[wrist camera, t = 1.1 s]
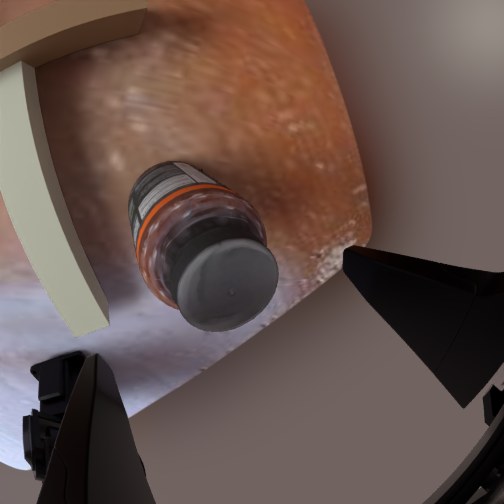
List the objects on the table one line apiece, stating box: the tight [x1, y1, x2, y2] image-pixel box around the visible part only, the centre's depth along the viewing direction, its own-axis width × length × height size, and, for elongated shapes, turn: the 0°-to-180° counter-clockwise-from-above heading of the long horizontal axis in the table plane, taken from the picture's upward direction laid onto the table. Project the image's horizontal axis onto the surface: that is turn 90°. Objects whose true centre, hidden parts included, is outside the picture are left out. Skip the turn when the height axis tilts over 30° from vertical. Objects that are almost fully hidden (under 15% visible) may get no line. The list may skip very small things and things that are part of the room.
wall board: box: [0, 0, 148, 338], centre depth 13 cm, size 20×10×5 cm, turn 7°
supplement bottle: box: [128, 161, 279, 332], centre depth 14 cm, size 6×6×11 cm
